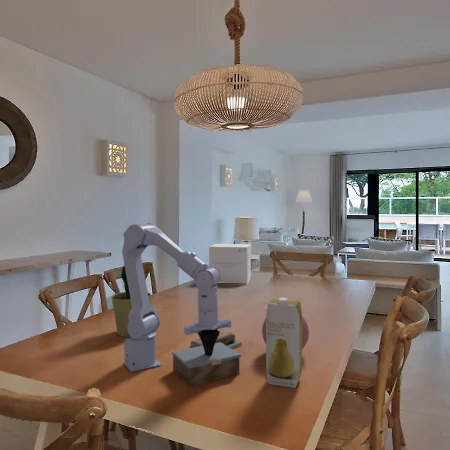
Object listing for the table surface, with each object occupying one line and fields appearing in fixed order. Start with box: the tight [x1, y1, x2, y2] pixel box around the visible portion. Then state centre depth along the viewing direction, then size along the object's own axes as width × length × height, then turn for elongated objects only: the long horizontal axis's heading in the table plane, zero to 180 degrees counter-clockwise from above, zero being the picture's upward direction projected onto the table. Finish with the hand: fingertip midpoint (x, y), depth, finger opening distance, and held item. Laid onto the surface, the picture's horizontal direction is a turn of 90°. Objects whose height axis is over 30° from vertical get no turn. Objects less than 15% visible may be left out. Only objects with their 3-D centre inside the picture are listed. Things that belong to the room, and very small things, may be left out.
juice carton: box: [265, 297, 303, 389], centre depth 111 cm, size 9×8×24 cm
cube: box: [208, 243, 252, 285], centre depth 266 cm, size 25×21×24 cm
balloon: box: [261, 315, 310, 350], centre depth 130 cm, size 15×20×15 cm
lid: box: [171, 342, 242, 369], centre depth 117 cm, size 17×13×1 cm
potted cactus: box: [111, 264, 152, 338], centre depth 156 cm, size 15×15×30 cm
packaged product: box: [189, 331, 242, 350], centre depth 138 cm, size 18×5×10 cm
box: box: [172, 355, 240, 387], centre depth 118 cm, size 16×12×5 cm
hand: (208, 354), depth 116 cm, fingers closed, pressing on lid
